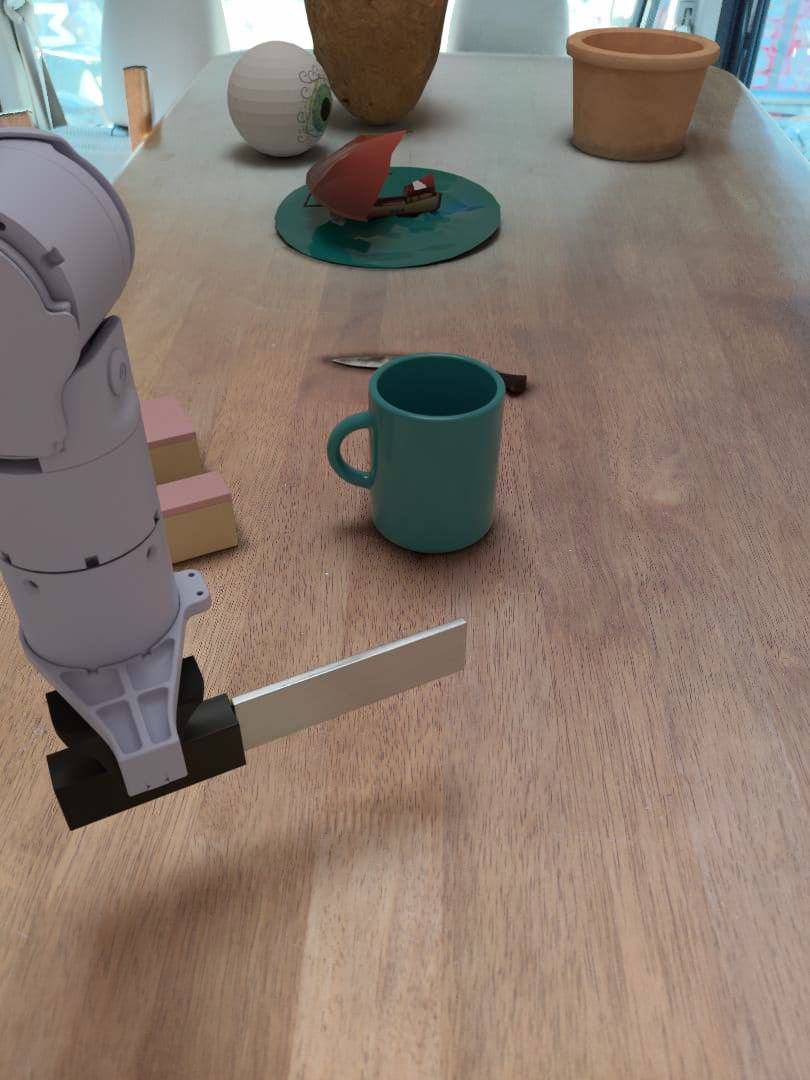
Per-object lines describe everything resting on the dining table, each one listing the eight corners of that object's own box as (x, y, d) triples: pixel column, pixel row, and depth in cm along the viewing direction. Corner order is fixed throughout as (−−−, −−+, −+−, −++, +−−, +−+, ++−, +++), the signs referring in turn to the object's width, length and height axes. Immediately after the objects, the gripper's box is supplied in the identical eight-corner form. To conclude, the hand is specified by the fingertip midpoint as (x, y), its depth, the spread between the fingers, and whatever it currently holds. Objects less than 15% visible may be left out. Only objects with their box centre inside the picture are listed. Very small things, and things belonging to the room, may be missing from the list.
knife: (322, 364, 82) (337, 343, 86) (323, 378, 83) (338, 357, 87) (524, 383, 79) (530, 360, 83) (523, 397, 80) (529, 374, 84)
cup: (333, 482, 70) (327, 350, 63) (488, 482, 70) (499, 351, 63) (326, 557, 63) (318, 419, 56) (498, 558, 63) (512, 420, 56)
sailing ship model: (256, 197, 120) (243, 109, 112) (453, 166, 125) (455, 80, 118) (306, 297, 100) (295, 200, 93) (536, 255, 106) (545, 160, 98)
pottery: (696, 173, 129) (719, 62, 120) (544, 158, 134) (555, 50, 125) (701, 133, 145) (722, 32, 136) (565, 121, 150) (577, 23, 141)
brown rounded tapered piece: (469, 116, 152) (478, -61, 136) (415, 152, 136) (419, -44, 120) (349, 100, 159) (345, -70, 143) (285, 133, 143) (273, -55, 127)
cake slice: (110, 582, 61) (95, 528, 58) (100, 555, 63) (86, 503, 60) (238, 545, 64) (231, 492, 61) (225, 521, 66) (218, 469, 63)
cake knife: (70, 832, 39) (51, 785, 37) (62, 796, 40) (43, 749, 38) (471, 679, 46) (475, 632, 44) (453, 653, 47) (455, 606, 45)
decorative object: (293, 177, 126) (285, 58, 117) (211, 158, 132) (198, 44, 123) (354, 150, 136) (351, 39, 127) (275, 135, 142) (267, 27, 133)
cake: (85, 512, 66) (71, 460, 64) (70, 470, 71) (56, 419, 68) (203, 481, 70) (195, 431, 67) (182, 443, 74) (174, 393, 71)
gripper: (254, 616, 28) (287, 858, 36) (141, 398, 38) (188, 628, 46) (14, 692, 25) (110, 932, 34) (-38, 438, 35) (46, 673, 44)
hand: (144, 761), depth 40 cm, fingers closed on cake knife, 2 cm apart
